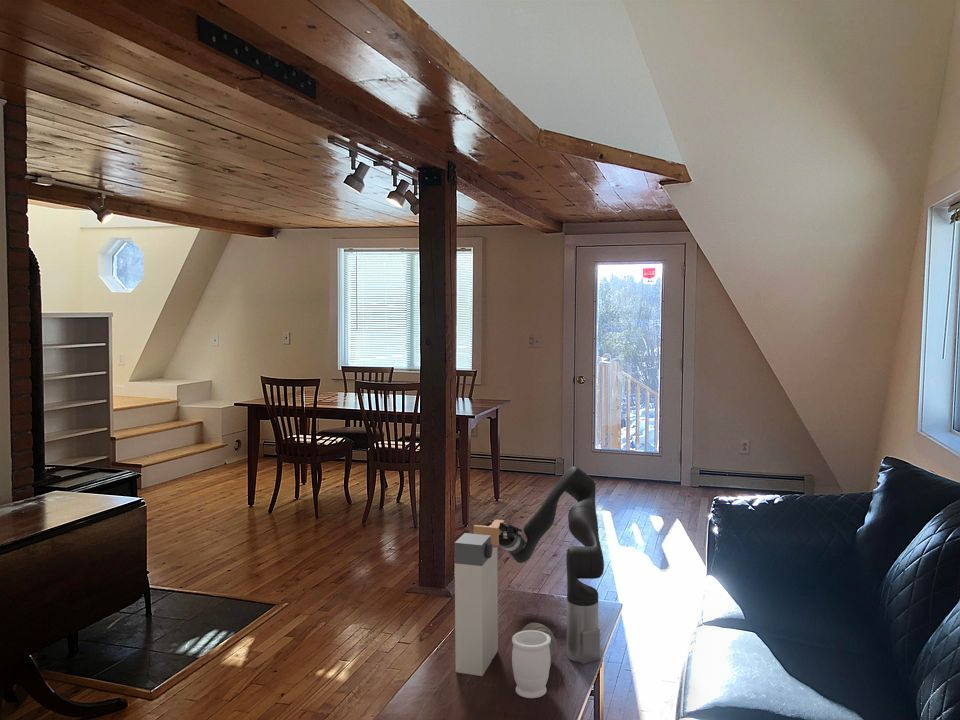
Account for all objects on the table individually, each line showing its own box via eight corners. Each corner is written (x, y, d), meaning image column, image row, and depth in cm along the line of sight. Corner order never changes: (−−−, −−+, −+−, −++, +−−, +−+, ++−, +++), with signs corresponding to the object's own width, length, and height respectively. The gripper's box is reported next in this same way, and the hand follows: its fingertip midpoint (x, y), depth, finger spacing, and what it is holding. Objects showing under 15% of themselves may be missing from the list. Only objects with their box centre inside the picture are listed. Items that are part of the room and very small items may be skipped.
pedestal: (472, 647, 236) (471, 526, 233) (501, 651, 234) (501, 528, 230) (455, 672, 221) (454, 542, 218) (486, 676, 218) (485, 545, 215)
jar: (532, 677, 218) (532, 626, 217) (558, 692, 210) (558, 638, 209) (503, 690, 211) (503, 637, 210) (529, 705, 203) (530, 650, 202)
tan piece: (488, 528, 249) (488, 511, 249) (511, 530, 247) (511, 513, 247) (473, 543, 235) (473, 525, 234) (497, 545, 232) (497, 528, 232)
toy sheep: (540, 647, 236) (540, 612, 235) (568, 672, 221) (568, 634, 220) (509, 653, 232) (509, 618, 231) (535, 679, 217) (535, 641, 216)
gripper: (488, 524, 261) (475, 511, 246) (529, 527, 257) (518, 515, 242) (485, 546, 258) (472, 535, 243) (526, 550, 254) (515, 539, 239)
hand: (495, 525), depth 243 cm, fingers closed on tan piece, 3 cm apart
